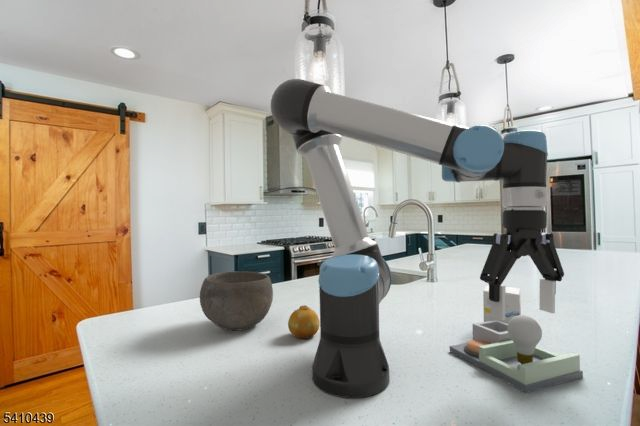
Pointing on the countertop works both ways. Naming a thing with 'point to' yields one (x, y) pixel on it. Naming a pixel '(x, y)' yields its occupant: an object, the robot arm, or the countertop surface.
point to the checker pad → (475, 345)
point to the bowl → (236, 298)
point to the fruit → (303, 322)
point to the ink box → (510, 304)
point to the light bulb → (524, 336)
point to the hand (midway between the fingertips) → (523, 314)
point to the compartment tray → (505, 364)
